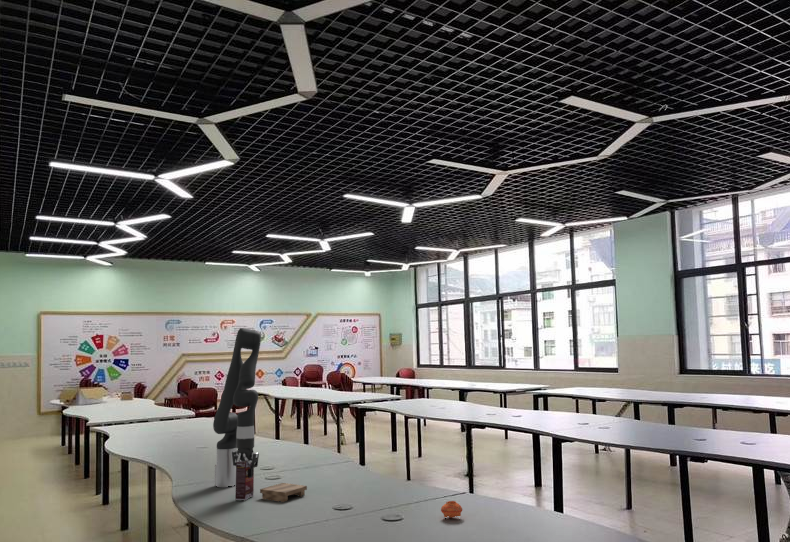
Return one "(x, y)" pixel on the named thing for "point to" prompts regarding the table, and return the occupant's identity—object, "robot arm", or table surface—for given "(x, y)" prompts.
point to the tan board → (282, 491)
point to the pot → (451, 509)
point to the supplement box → (243, 482)
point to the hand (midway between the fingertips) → (245, 476)
